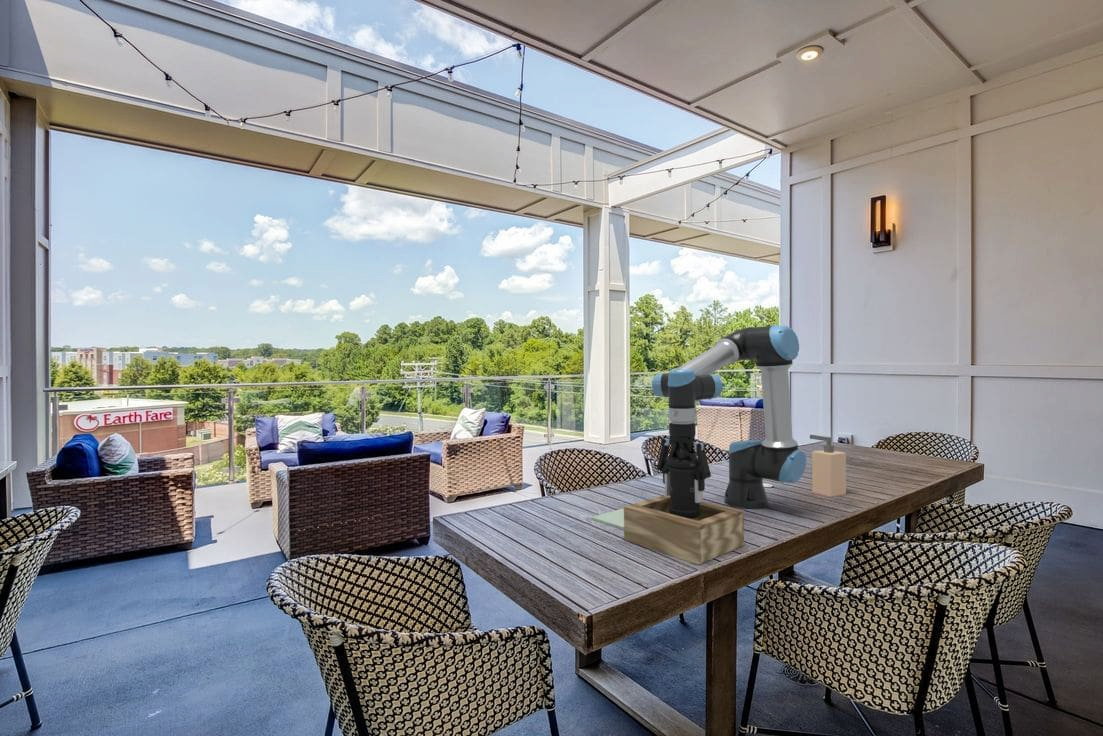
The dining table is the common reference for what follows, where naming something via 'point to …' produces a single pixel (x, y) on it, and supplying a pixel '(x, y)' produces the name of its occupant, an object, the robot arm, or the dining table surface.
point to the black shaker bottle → (683, 486)
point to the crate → (684, 529)
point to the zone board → (612, 518)
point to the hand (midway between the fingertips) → (683, 498)
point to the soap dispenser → (828, 470)
